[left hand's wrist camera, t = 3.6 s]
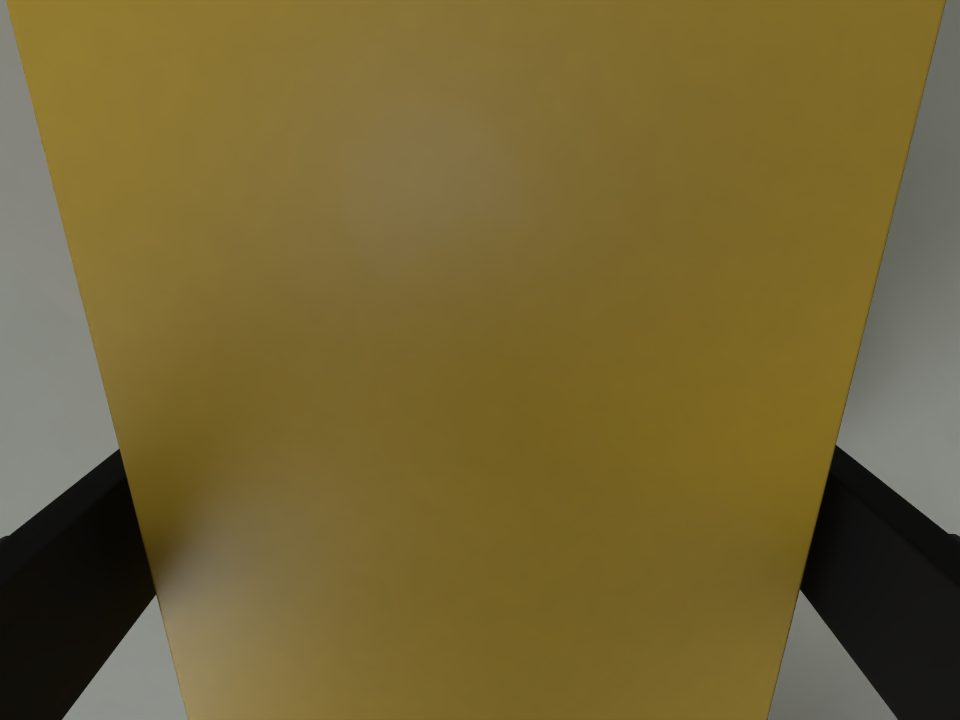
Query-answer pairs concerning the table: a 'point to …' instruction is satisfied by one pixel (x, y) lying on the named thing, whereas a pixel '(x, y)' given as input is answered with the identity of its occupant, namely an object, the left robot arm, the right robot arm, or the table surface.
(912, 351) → the table surface
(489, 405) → the yellow two-tone block
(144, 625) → the table surface
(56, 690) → the left robot arm
